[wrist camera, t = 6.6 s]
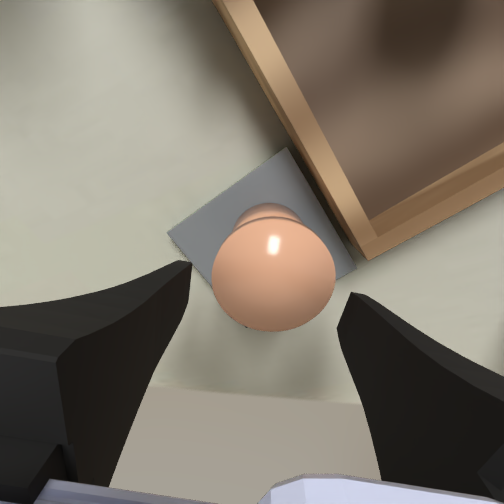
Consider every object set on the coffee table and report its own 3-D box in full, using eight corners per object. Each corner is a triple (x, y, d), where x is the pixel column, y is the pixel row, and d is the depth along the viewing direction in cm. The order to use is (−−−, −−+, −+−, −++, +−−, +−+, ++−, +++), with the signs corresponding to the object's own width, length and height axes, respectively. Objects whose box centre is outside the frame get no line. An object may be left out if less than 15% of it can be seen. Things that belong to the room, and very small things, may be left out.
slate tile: (353, 263, 17) (357, 268, 17) (246, 321, 19) (246, 328, 19) (285, 147, 15) (286, 146, 14) (170, 229, 17) (166, 232, 16)
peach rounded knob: (324, 254, 16) (354, 301, 11) (253, 289, 17) (250, 347, 12) (286, 180, 15) (301, 196, 9) (210, 225, 16) (186, 260, 11)
